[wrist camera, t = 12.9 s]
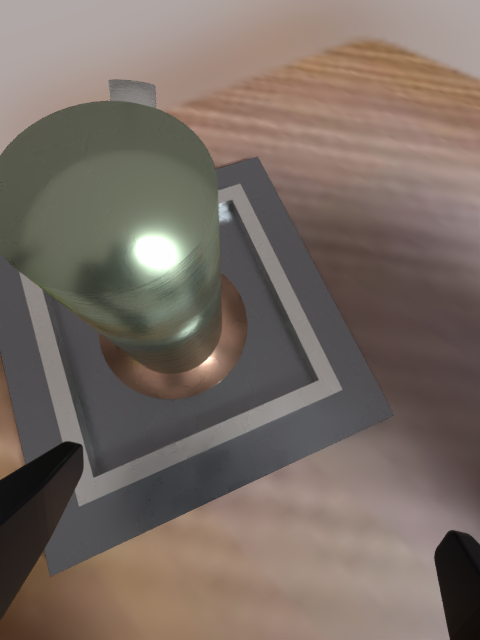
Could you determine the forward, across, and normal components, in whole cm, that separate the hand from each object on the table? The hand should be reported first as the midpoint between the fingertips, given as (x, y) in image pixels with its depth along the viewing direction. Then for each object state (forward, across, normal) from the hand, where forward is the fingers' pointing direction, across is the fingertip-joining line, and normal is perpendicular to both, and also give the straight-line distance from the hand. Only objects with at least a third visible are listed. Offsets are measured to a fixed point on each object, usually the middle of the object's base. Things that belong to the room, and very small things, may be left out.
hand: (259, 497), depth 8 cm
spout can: (+12, +6, +3) cm, 14 cm away
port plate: (+13, +6, +3) cm, 15 cm away
